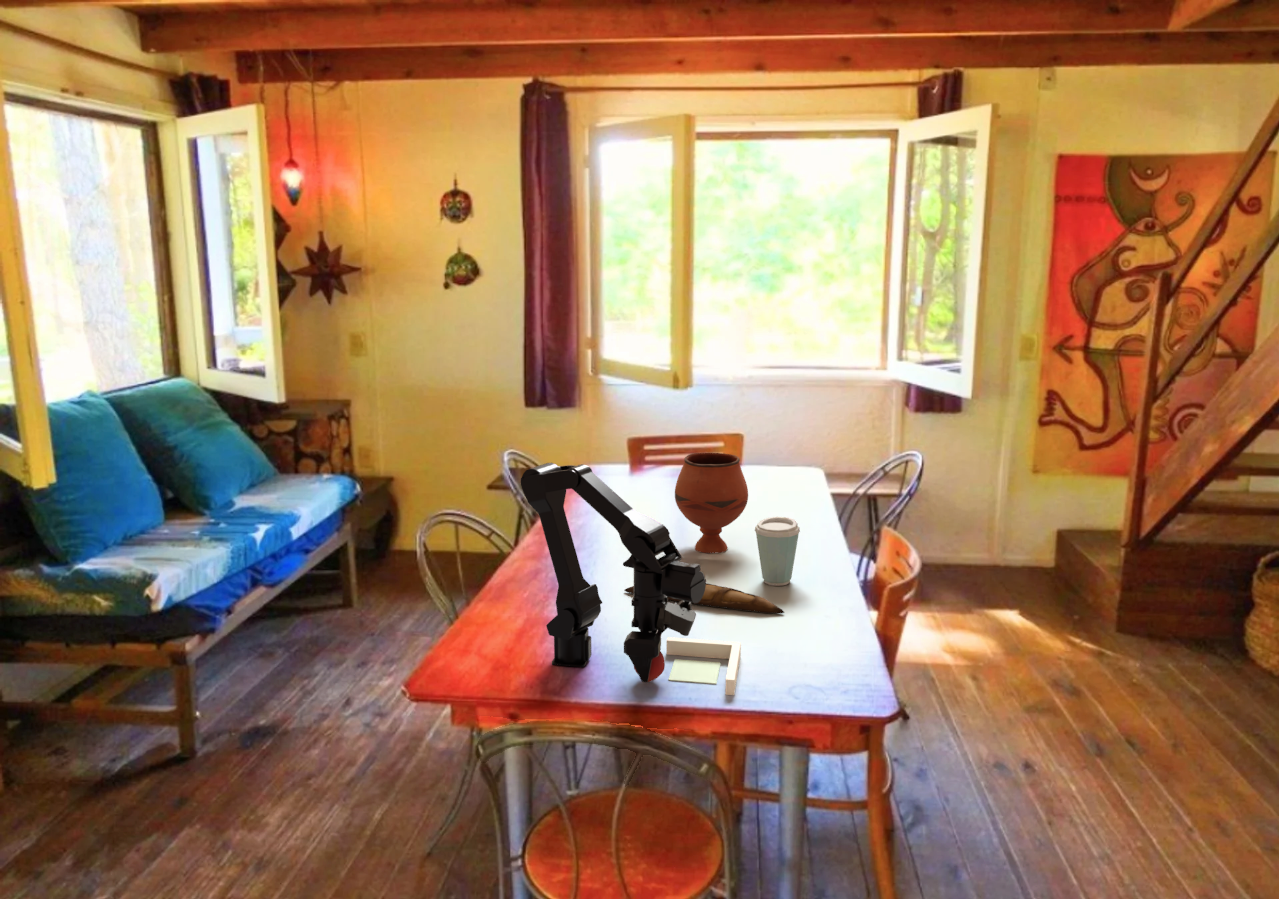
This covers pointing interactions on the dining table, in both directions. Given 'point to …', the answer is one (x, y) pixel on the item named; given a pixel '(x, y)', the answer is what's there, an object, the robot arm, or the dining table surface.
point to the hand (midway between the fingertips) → (648, 670)
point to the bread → (731, 600)
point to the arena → (704, 669)
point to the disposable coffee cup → (777, 548)
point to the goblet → (711, 495)
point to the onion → (656, 667)
